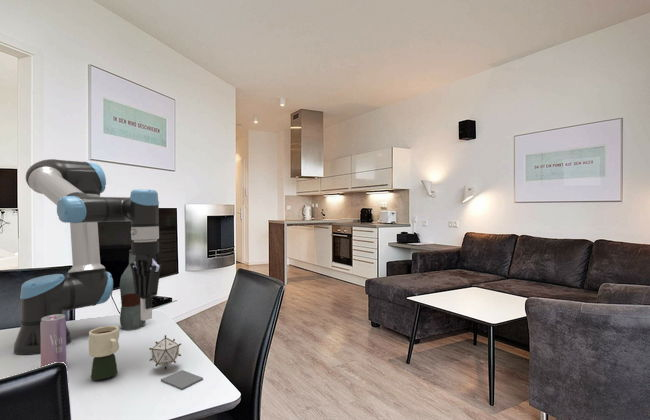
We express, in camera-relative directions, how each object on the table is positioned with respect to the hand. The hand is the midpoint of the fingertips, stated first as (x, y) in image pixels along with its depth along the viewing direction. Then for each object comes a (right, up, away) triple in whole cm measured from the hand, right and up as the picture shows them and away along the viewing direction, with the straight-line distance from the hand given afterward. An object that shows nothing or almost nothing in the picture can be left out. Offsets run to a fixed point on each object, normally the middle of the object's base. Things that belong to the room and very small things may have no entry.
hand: (146, 319), depth 109 cm
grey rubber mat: (+15, -13, -12) cm, 23 cm away
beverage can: (-25, -13, -4) cm, 28 cm away
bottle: (-21, -13, +33) cm, 41 cm away
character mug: (-7, -13, -9) cm, 18 cm away
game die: (+8, -13, -5) cm, 16 cm away
